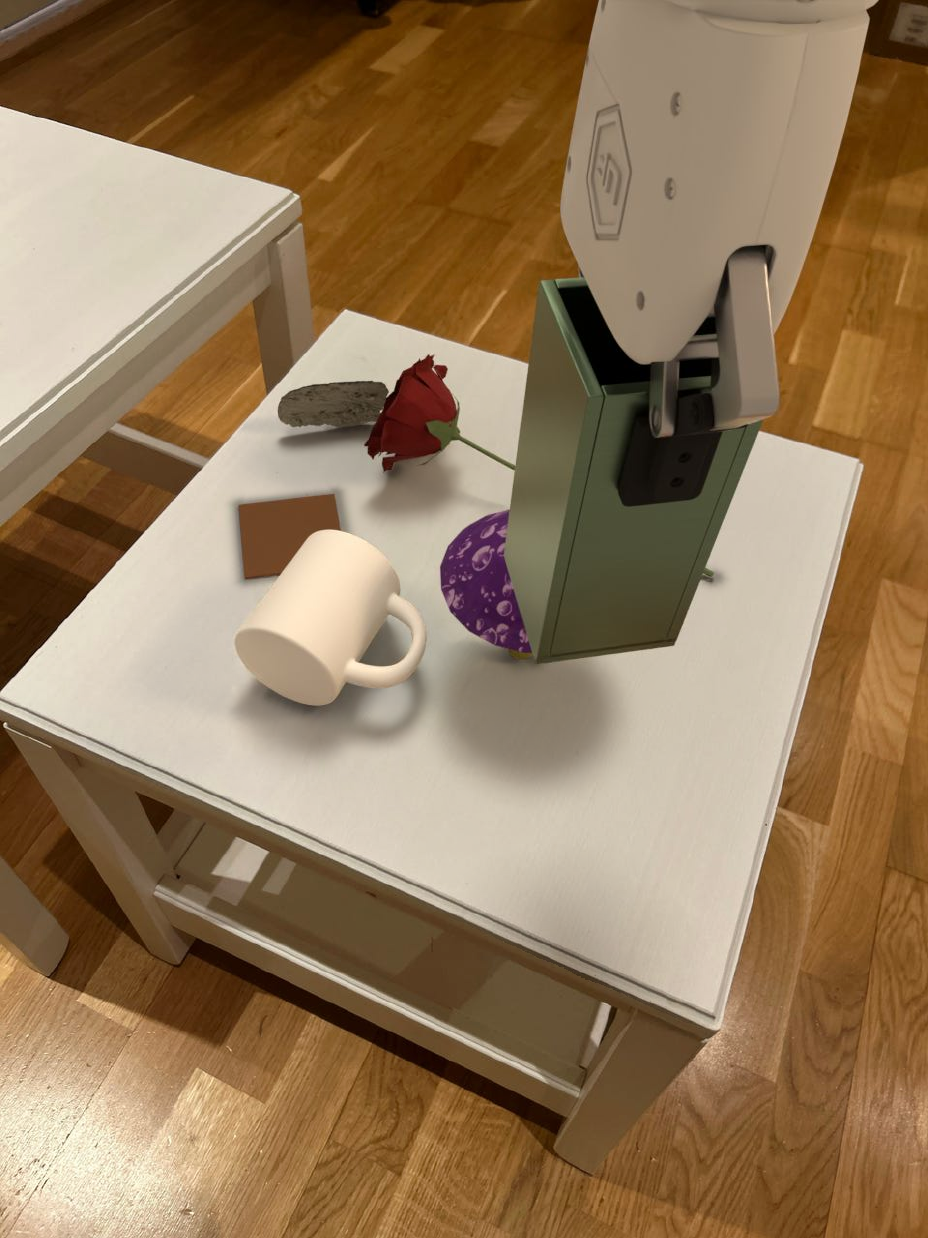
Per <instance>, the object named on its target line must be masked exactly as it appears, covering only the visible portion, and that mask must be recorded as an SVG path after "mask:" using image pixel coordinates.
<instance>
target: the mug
mask: <svg viewBox="0 0 928 1238" xmlns="http://www.w3.org/2000/svg"><path fill="white" fill-rule="evenodd" d="M400 595H401V582H400V578H399V575H398V573H397V571H396V569H395V568H394V566H393V565H392V563H391V562H390V561H389V559H388V558H387V557H386V556H385V555H384V554H383V553H382V552H381V551H379V549H378V548H376V547H375V546H374V545H372V544H371V543H369V542H368V541H366V540H364V539H362V538H361V537H359V536H357V535H355V534H353V533H349V532H347V531H343V530H341V531H338V530H321V531H317V532H315V533H313V534H312V535H310V536H309V537H308V538H307V540H306V541H305V542H304V544H303V545H302V546H301V548H300V549H299V550H298V552H297V553H296V554H295V556H294V557H293V559H292V560H291V561H290V563H289V564H288V565H287V567H286V568H285V569H284V571H283V572H282V573H281V574H279V576H278V577H277V579H276V580H275V581H274V583H273V584H272V586H271V587H270V588H269V589H268V591H267V592H266V593H265V595H264V596H263V597H262V599H261V600H260V602H258V604H257V605H256V607H255V608H254V609H253V611H252V612H251V613H250V614H249V616H248V617H247V619H246V620H245V621H244V623H243V624H242V626H241V627H240V628H239V630H238V631H237V633H236V634H235V636H234V648H235V651H236V654H237V656H238V659H239V660H240V661H241V662H242V664H243V665H244V667H245V668H246V669H247V671H248V672H250V673H251V675H252V676H253V677H255V679H257V680H258V681H259V682H260V683H262V684H263V685H265V686H266V687H267V688H269V689H270V690H272V691H273V692H275V693H277V694H278V695H280V696H282V697H284V698H286V699H287V700H288V699H289V700H291V701H293V702H295V703H296V702H297V703H299V704H303V705H307V706H315V707H316V706H318V707H319V706H326V705H329V704H331V703H332V702H334V701H335V700H336V699H337V697H338V696H339V694H340V693H341V691H342V690H343V688H344V686H345V685H346V683H349V684H351V685H354V686H358V687H363V688H370V689H371V688H372V689H385V688H386V689H387V688H391V687H395V686H397V685H399V684H401V683H403V682H405V681H406V680H407V679H409V678H410V677H411V676H412V675H413V673H414V672H415V671H416V669H417V668H418V666H419V665H420V663H421V661H422V660H423V656H424V654H425V650H426V646H427V628H426V625H425V621H424V619H423V617H422V615H421V614H420V611H418V609H417V608H416V607H415V606H414V605H413V604H411V602H409V601H408V600H406V599H405V598H403V597H402V596H400ZM389 615H390V616H392V617H394V618H395V619H397V620H399V621H401V622H402V623H404V625H406V627H408V629H409V630H410V632H411V637H412V639H411V645H410V647H409V648H408V649H409V650H408V652H407V653H406V655H405V656H404V657H403V659H402V660H400V661H399V662H397V663H395V664H392V665H387V666H386V665H384V666H381V665H380V666H378V665H370V664H366V663H361V662H360V661H361V659H362V657H364V654H365V653H366V651H367V649H368V648H369V646H370V645H371V643H372V642H373V640H374V638H375V637H376V636H377V634H378V632H379V630H380V629H381V628H382V626H383V624H384V622H385V621H386V619H387V618H388V616H389Z"/></svg>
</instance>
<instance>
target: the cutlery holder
mask: <svg viewBox="0 0 928 1238" xmlns="http://www.w3.org/2000/svg"><path fill="white" fill-rule="evenodd" d="M537 287H538V288H537V296H536V303H535V311H534V319H533V327H532V335H531V341H530V350H529V357H528V364H527V365H528V366H527V374H526V381H525V388H524V394H523V395H524V397H523V403H522V411H521V420H520V426H519V433H518V434H519V435H518V442H517V451H516V458H515V464H514V465H515V471H514V474H513V481H512V489H511V490H512V491H511V497H510V504H509V509H510V511H509V519H508V527H507V535H506V542H505V550H504V558H505V561H506V565H507V568H508V572H509V575H510V578H511V582H512V585H513V589H514V592H515V595H516V599H517V602H518V606H519V609H520V612H521V616H522V619H523V623H524V626H525V629H526V633H527V636H528V640H529V643H530V646H531V650H532V653H533V654H532V656H533V660H534V663H535V664H536V665H542V664H550V663H557V662H565V661H572V660H579V659H586V658H594V657H602V656H603V657H604V656H609V655H616V654H624V653H631V652H639V651H646V650H654V649H659V648H660V649H661V648H668V647H674V646H675V645H676V643H677V640H678V638H679V635H680V633H681V630H682V628H683V625H684V623H685V620H686V617H687V615H688V612H689V610H690V607H691V605H692V602H693V600H694V598H695V594H696V593H697V590H698V587H699V585H700V582H701V579H702V577H703V574H704V573H703V572H704V569H705V568H707V567H706V566H707V565H708V562H709V560H710V557H711V555H712V551H713V549H714V546H715V544H716V542H717V538H718V537H719V534H720V531H721V529H722V526H723V523H724V521H725V519H726V516H727V513H728V511H729V508H730V506H731V503H732V501H733V499H734V496H735V493H736V491H737V488H738V486H739V483H740V481H741V478H742V476H743V473H744V470H745V468H746V465H747V463H748V460H749V458H750V456H751V452H752V451H753V447H754V445H755V442H756V441H757V438H758V435H759V432H760V431H761V427H762V425H763V422H764V420H765V419H762V420H760V421H757V422H754V423H752V424H749V425H748V426H747V427H745V428H739V429H733V430H731V431H724V432H723V433H722V436H721V438H720V441H719V444H718V447H717V450H716V453H715V455H714V458H713V461H712V464H711V467H710V470H709V472H708V475H707V478H706V481H705V484H704V487H703V489H702V492H701V494H700V495H699V496H698V497H696V498H695V499H692V500H687V501H678V502H668V503H659V504H650V505H641V506H632V507H626V506H624V505H623V504H622V502H621V500H620V497H619V495H618V489H619V485H620V481H621V477H622V473H623V469H624V465H625V462H626V458H627V454H628V450H629V446H630V442H631V438H632V434H633V430H634V426H635V422H636V418H637V417H644V416H649V397H650V371H651V364H639V363H637V362H635V361H634V360H633V359H631V358H630V357H629V356H628V355H627V354H626V353H625V352H624V351H623V350H622V349H621V347H620V346H619V345H618V343H617V342H616V340H615V338H614V337H613V335H612V333H611V331H610V329H609V327H608V325H607V323H606V321H605V319H604V317H603V315H602V313H601V311H600V309H599V307H598V305H597V303H596V301H595V299H594V297H593V295H592V293H591V290H590V288H589V286H588V284H587V282H586V280H585V278H584V277H580V278H579V277H567V278H565V277H564V278H554V279H540V280H539V281H538V286H537ZM709 334H716V324H715V317H706V319H705V320H704V322H703V323H702V324H701V326H700V327H699V328H698V330H697V331H696V332H695V334H694V335H693V336H696V335H709ZM711 367H712V358H710V359H698V360H686V361H679V380H678V398H682V397H686V396H689V395H693V394H699V393H706V392H708V391H710V382H711ZM778 382H780V381H779V379H778Z"/></svg>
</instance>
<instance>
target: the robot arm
mask: <svg viewBox="0 0 928 1238" xmlns="http://www.w3.org/2000/svg"><path fill="white" fill-rule="evenodd" d="M878 2H879V0H598V3H597V7H596V12H595V15H594V20H593V24H592V30H591V32H590V33H591V34H590V39H589V44H588V48H587V53H586V58H585V62H584V63H585V64H584V68H583V73H582V78H581V83H580V89H579V94H578V99H577V104H576V110H575V115H574V121H573V126H572V130H571V131H572V132H571V137H570V143H569V148H568V154H567V158H566V159H567V160H566V164H565V172H564V176H563V182H562V189H561V196H560V204H559V205H560V206H559V208H560V209H559V210H560V211H559V212H560V220H561V225H562V229H563V232H564V235H565V237H566V239H567V242H568V245H569V247H570V250H571V252H572V253H573V256H574V258H575V260H576V262H577V273H578V278H580V277H584V278H585V280H586V282H587V284H588V286H589V288H590V290H591V293H592V295H593V297H594V299H595V301H596V303H597V305H598V307H599V309H600V311H601V313H602V315H603V317H604V319H605V321H606V323H607V325H608V327H609V329H610V331H611V333H612V335H613V337H614V338H615V340H616V342H617V343H618V345H619V346H620V347H621V349H622V350H623V351H624V352H625V353H626V354H627V355H628V356H629V357H630V358H631V359H633V360H634V361H635V362H637V363H639V364H651V371H650V397H649V416H644V417H637V418H636V422H635V426H634V430H633V434H632V438H631V442H630V446H629V450H628V454H627V458H626V462H625V465H624V469H623V473H622V477H621V481H620V485H619V489H618V495H619V497H620V500H621V502H622V504H623V505H624V506H626V507H632V506H641V505H650V504H659V503H668V502H678V501H687V500H692V499H695V498H696V497H698V496H699V495H700V494H701V492H702V489H703V487H704V484H705V481H706V478H707V475H708V472H709V470H710V467H711V464H712V461H713V458H714V455H715V453H716V450H717V447H718V444H719V441H720V438H721V436H722V433H723V432H724V431H731V430H733V429H739V428H745V427H747V426H748V425H749V424H752V423H754V422H757V421H760V420H762V419H764V420H765V419H768V418H770V417H773V416H774V415H776V414H777V412H778V410H779V409H780V408H779V407H780V403H781V394H780V385H779V381H778V380H779V374H778V365H777V364H778V363H777V362H778V361H777V352H776V344H775V342H776V341H775V334H776V332H777V330H778V328H779V326H780V324H781V322H782V320H783V318H784V316H785V313H786V311H787V308H788V306H789V304H790V302H791V299H792V296H793V294H794V292H795V289H796V286H797V284H798V281H799V279H800V276H801V274H802V270H803V267H804V264H805V262H806V259H807V256H808V253H809V250H810V247H811V245H812V242H813V238H814V235H815V232H816V229H817V225H818V222H819V218H820V215H821V212H822V210H823V209H822V208H823V205H824V202H825V199H826V196H827V193H828V189H829V186H830V182H831V178H832V176H833V172H834V169H835V165H836V162H837V158H838V154H839V152H840V147H841V144H842V140H843V135H844V133H845V128H846V125H847V121H848V117H849V113H850V109H851V104H852V100H853V96H854V93H855V89H856V83H857V80H858V75H859V71H860V66H861V61H862V57H863V51H864V46H865V42H866V38H867V33H868V29H869V25H870V20H871V19H870V16H869V13H868V12H867V10H868V9H870V8H871V7H873V6H875V5H876V4H877V3H878ZM706 317H715V324H716V334H709V335H696V336H693V335H694V334H695V332H696V331H697V330H698V328H699V327H700V326H701V324H702V323H703V322H704V320H705V319H706ZM710 358H712V367H711V382H710V391H708V392H706V393H699V394H693V395H689V396H686V397H682V398H678V380H679V361H686V360H698V359H710Z"/></svg>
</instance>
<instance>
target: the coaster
mask: <svg viewBox="0 0 928 1238" xmlns="http://www.w3.org/2000/svg"><path fill="white" fill-rule="evenodd" d="M237 506H238V507H237V508H238V518H239V529H240V530H239V531H240V541H241V552H242V553H241V554H242V555H241V556H242V564H243V577H244V580H248V579H254V578H263V577H269V576H270V577H271V576H278V575H279V576H280V575H281V573H282V572H283V571H284V569H285V568H286V567H287V565H288V564H289V563H290V561H291V560H292V559H293V557H294V556H295V554H296V553H297V552H298V550H299V549H300V548H301V546H302V545H303V544H304V542H305V541H306V540H307V538H308V537H309V536H310V535H312V534H313V533H315V532H317V531H321V530H338V531H342V530H341V524H340V518H339V513H338V506H337V502H336V495H335V493H329V494H320V495H310V496H302V497H301V496H300V497H293V498H285V499H275V500H269V501H268V500H267V501H258V502H249V503H241V504H238V505H237Z"/></svg>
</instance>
